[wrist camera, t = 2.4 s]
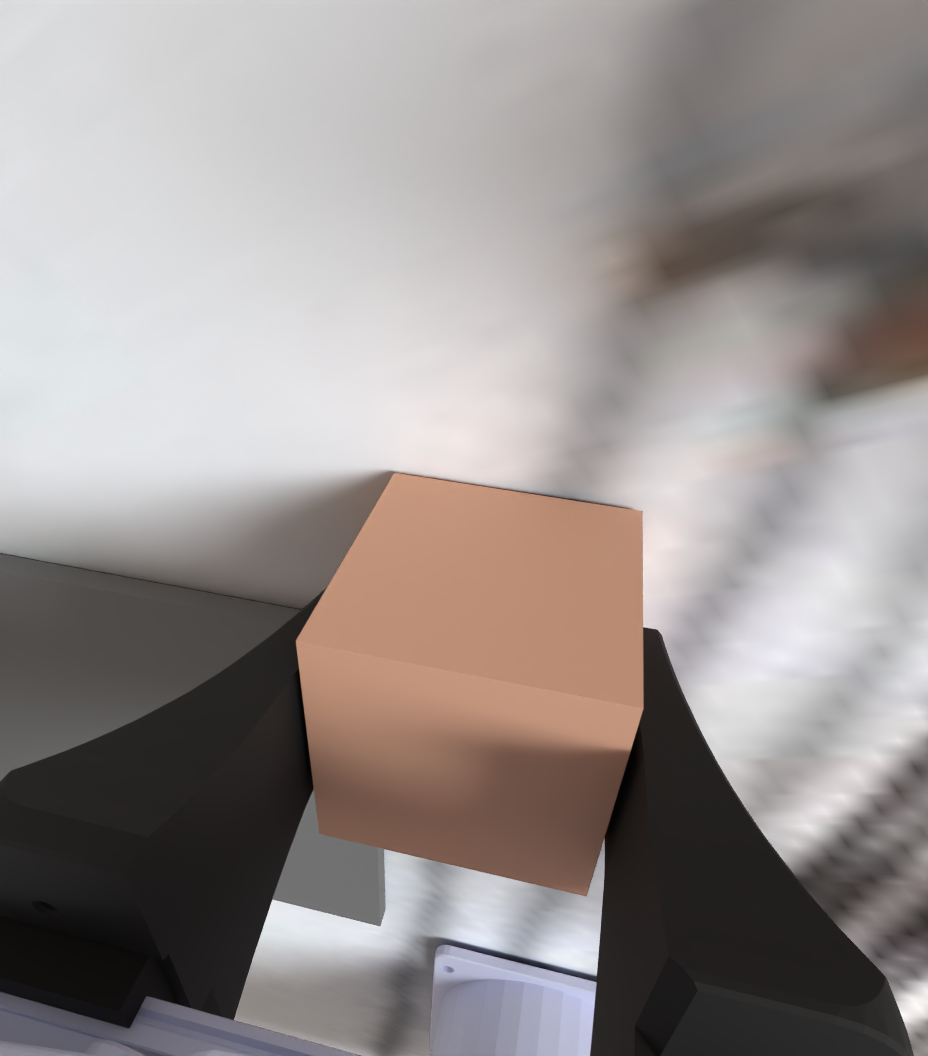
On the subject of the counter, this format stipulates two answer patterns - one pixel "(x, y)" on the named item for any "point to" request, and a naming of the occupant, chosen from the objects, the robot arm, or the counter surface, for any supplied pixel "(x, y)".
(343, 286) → the counter surface
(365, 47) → the counter surface
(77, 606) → the mat
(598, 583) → the cube
